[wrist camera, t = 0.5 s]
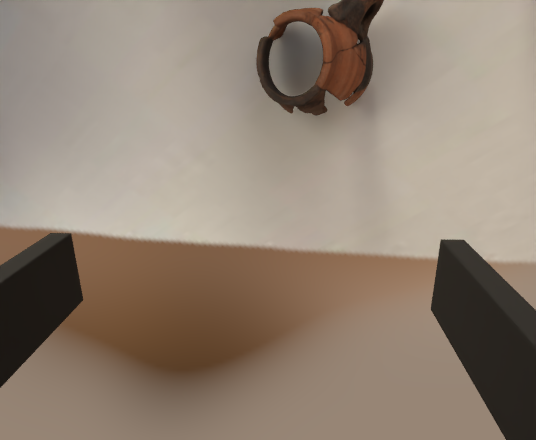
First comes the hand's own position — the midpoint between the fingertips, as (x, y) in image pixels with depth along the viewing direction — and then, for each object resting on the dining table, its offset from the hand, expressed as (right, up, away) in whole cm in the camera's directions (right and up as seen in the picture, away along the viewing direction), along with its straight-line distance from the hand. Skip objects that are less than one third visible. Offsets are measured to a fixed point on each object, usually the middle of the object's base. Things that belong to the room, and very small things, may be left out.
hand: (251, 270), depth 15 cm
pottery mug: (+6, +17, +23) cm, 30 cm away
